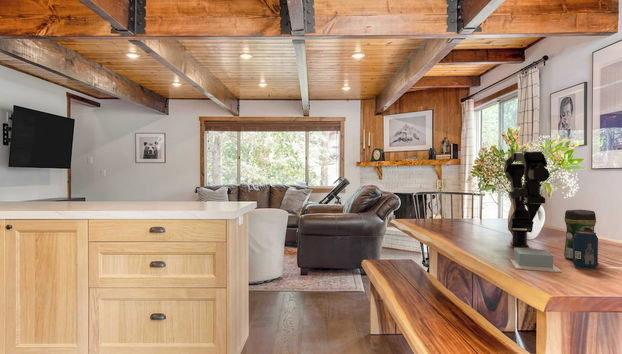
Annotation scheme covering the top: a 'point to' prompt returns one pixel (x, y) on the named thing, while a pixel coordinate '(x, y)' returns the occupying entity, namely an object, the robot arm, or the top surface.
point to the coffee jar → (577, 227)
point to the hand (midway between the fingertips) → (531, 219)
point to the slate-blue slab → (533, 257)
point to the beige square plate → (535, 267)
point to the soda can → (585, 250)
